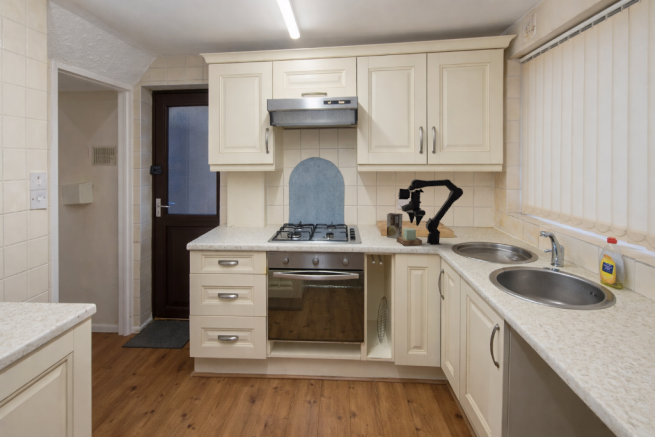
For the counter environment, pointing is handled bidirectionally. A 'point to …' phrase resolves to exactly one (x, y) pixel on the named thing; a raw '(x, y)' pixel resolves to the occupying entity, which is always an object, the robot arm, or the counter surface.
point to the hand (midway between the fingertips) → (414, 224)
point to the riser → (409, 241)
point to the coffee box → (394, 225)
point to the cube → (409, 234)
